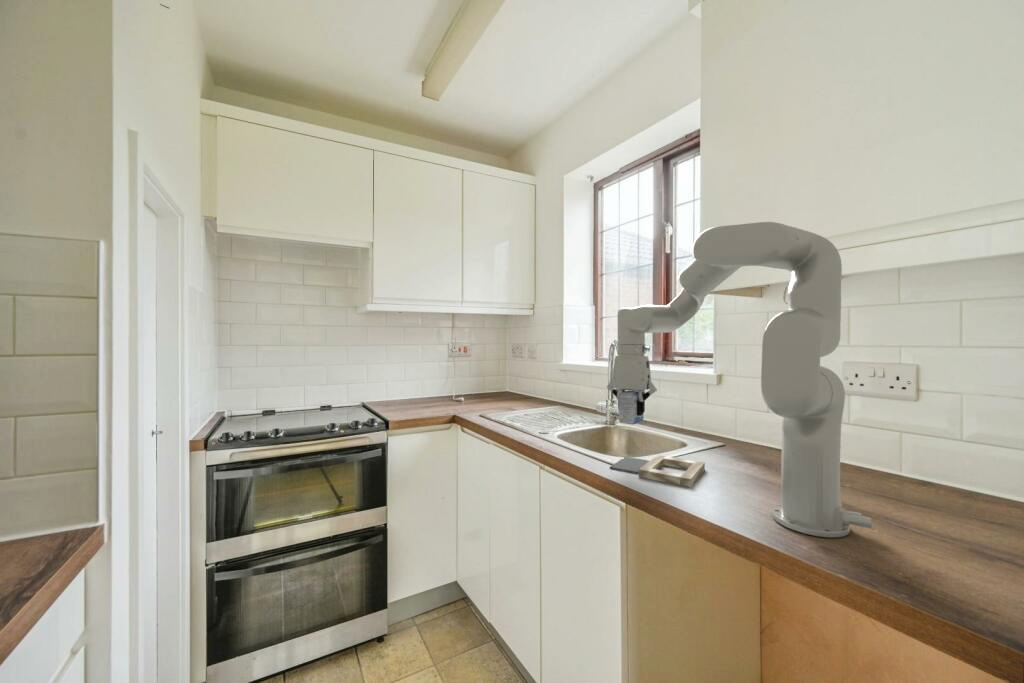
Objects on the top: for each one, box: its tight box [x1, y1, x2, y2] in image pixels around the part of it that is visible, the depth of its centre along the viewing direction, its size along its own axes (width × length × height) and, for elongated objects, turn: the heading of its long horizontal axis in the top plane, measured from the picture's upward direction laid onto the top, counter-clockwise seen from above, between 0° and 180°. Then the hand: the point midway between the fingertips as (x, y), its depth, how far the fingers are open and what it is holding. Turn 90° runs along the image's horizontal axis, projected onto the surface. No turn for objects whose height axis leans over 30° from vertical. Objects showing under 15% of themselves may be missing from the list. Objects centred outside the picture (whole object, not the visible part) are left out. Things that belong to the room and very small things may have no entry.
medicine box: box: [618, 390, 644, 426], centre depth 120 cm, size 8×4×9 cm, turn 143°
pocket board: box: [638, 454, 706, 488], centre depth 113 cm, size 13×16×2 cm
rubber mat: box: [609, 456, 650, 475], centre depth 120 cm, size 8×12×1 cm, turn 144°
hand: (631, 413), depth 120 cm, fingers closed on medicine box, 4 cm apart
